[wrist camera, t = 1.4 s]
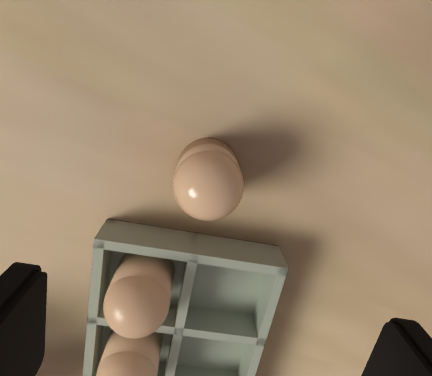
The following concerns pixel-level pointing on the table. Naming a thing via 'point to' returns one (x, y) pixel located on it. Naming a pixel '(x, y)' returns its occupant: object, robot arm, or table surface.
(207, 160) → the egg
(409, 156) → the table surface
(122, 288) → the carton
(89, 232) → the table surface
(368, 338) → the table surface
